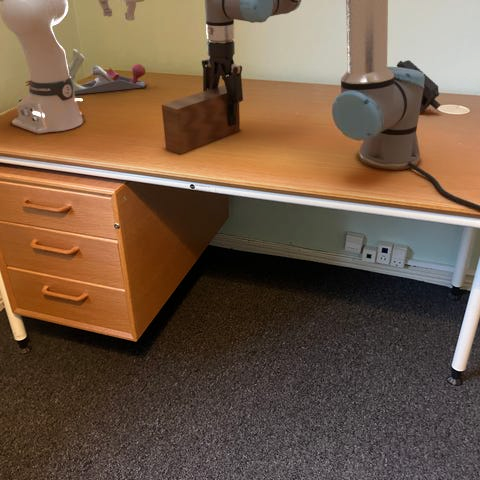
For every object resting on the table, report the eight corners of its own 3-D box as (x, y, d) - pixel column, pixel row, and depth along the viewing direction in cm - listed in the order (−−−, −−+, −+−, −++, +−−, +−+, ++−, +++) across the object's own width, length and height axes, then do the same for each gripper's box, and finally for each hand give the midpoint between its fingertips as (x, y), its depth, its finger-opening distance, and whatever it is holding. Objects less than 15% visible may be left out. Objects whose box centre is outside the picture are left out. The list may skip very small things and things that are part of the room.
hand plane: (62, 90, 197) (53, 48, 189) (145, 82, 205) (140, 41, 197) (62, 96, 191) (54, 53, 184) (148, 87, 199) (143, 45, 191)
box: (225, 125, 162) (223, 84, 156) (239, 130, 159) (239, 88, 152) (165, 148, 148) (161, 104, 141) (180, 154, 144) (176, 109, 138)
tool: (378, 91, 179) (405, 54, 169) (421, 128, 175) (451, 93, 164) (370, 95, 176) (396, 58, 165) (413, 134, 171) (443, 98, 161)
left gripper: (76, -43, 134) (85, 15, 142) (125, -40, 122) (133, 24, 130) (97, -45, 138) (105, 12, 146) (147, -42, 126) (153, 20, 134)
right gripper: (186, 38, 148) (192, 118, 160) (237, 47, 137) (238, 133, 149) (205, 33, 153) (209, 112, 165) (256, 42, 141) (256, 125, 154)
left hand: (118, 18), depth 138 cm, fingers open, 8 cm apart
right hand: (223, 122), depth 157 cm, fingers closed on box, 6 cm apart
